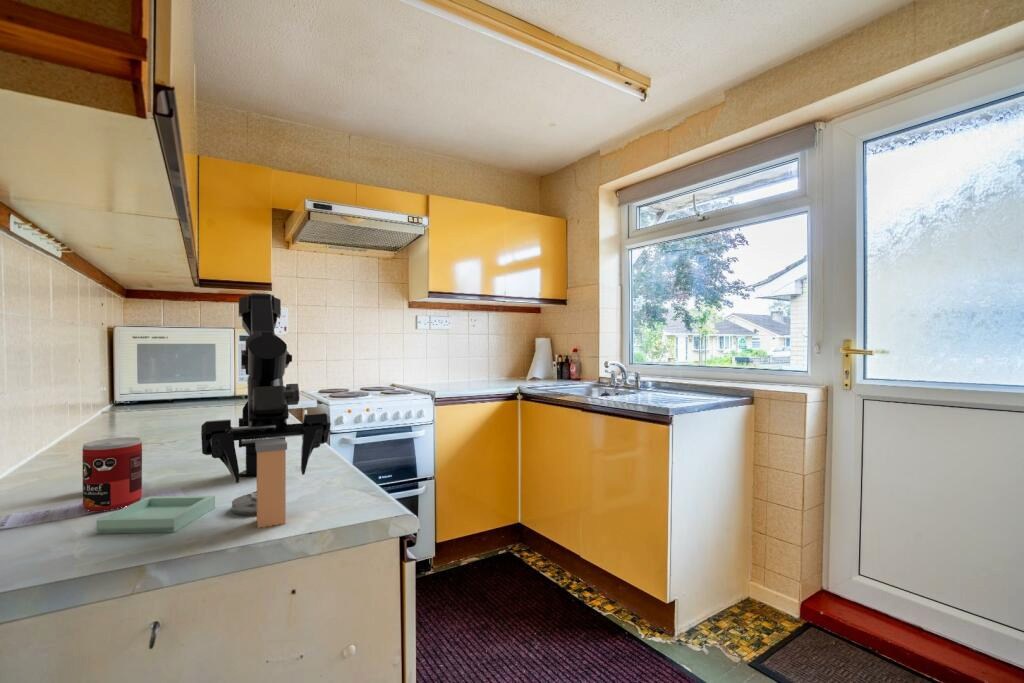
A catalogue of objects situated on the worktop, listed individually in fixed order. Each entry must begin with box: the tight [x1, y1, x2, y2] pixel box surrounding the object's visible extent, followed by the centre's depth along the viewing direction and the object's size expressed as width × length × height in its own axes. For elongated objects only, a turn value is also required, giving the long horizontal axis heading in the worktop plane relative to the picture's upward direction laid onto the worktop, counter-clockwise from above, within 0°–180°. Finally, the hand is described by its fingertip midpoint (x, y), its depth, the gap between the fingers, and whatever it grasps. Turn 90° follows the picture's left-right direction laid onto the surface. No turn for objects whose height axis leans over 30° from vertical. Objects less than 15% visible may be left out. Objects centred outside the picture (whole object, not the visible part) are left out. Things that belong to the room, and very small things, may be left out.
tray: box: [96, 495, 216, 535], centre depth 78 cm, size 11×11×2 cm
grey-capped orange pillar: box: [255, 438, 288, 529], centre depth 77 cm, size 4×4×12 cm
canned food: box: [82, 436, 143, 512], centre depth 85 cm, size 8×8×11 cm
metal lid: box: [231, 490, 257, 517], centre depth 83 cm, size 8×8×2 cm
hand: (271, 477), depth 76 cm, fingers open, 9 cm apart
